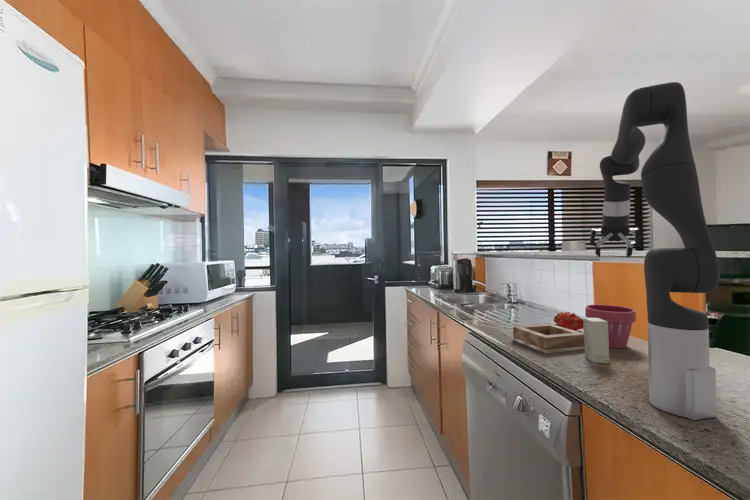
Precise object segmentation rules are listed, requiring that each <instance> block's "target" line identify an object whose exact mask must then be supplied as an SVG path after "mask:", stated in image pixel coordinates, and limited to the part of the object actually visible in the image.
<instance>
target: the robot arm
mask: <svg viewBox="0 0 750 500" xmlns="http://www.w3.org/2000/svg"><path fill="white" fill-rule="evenodd" d="M684 88H685V87H684V86H683V85H682V83H680V82H677V81H676V82H675V81H671V82H665V83H660V84H654V85H648V86H643V87H639V88H636V89H632V90H631V91H630V92H629V93H628V95H627V96H626V99H625V100H624V104H623V106H622V112H621V116H620V122H619V127H618V134H617V139H616V142H615V143H614V146H613V147H612V150H611V153H610V154H609V155H605V156H603V157H602V158H601V159H600V162H599V170H600V173H601V176H602V180H603V184H604V197H603V199H604V202H603V206H602V219H601V221H602V222H601V228H599V229H596V228H594V227H593V228H591V229H590V230H591V231H590V239H589V243H590V244H589V245H590V246H594V247H595V251H594V253H595V255H596V256H597V257H599V258H600V257H601V249H602V248H601V247H602V245H603V244H605V243H606V242H607V241H609V242H614V241H615V242H621V241H623V242H624V243H625V244H626V245H627V246H626V254H625V256H626V258H631V257H632V256H633V248H634V247H640V246H641V230H640V228H639V227H634V228H630V227H629V225H630V213H631V212H630V211H631V189H632V188H631V186H632V185H631V184H630V183H629V182H627V181H618V180H614V178H613V177H616V176H617V177H618V176H625V175H626V176H627V175H632V174H634V173H636V172H637V170H638V169H639V167H640V154H641V153H642V151H643V149H644V147H645V145H646V136H645V134H644V132H643V131H642V130H641V129H640V128H643V127H648V126H654V125H655V126H656V125H661V124H662V125H664V129H665V130H664V134H663V137H662V138H661V139H660V141H659V143H658V145H657V146H656V147H655V149H654V150H653V151H652V153H651V154H650V155H649V157H648V158H647V159H646V161H645V162H644V164H643V166H642V168H641V172H640V179H641V186H642V192H643V197H644V200H645V202H646V203H647V204H648V205H649V206H650V207H651V208H652V210H653V211H655V212H656V213H657V214H658V215H660V216H661V217H662V218H663V219H664V220H666V221H667V222H668V223H669V224H671V227H673V228H674V230H675V231H676V232H677V233H678V235H679V236H680V239H681V242H682V243H683V246H684V247H668V248H667V247H664V248H659V247H658V248H652V249H649V250H648V251H647V252H646V253H645V256H644V260H643V261H644V262H643V271H644V273H643V275H644V282H645V283H644V284H645V298H646V312H647V346H648V347H647V354H648V355H647V356H648V357H647V358H648V395H649V397H648V399H649V400H648V401H649V403H650V404H651V405H652V406H653V407H654V408H656V409H659V410H661V411H663V412H666V413H669V414H672V415H675V416H679V417H683V418H687V419H689V420H692V421H699V420H703V419H704V420H705V419H709V418H714V417H717V416H718V415H717V413H718V412H717V411H718V410H717V370H716V368H715V367H713V366H710V330H709V327H710V326H709V325H710V323H709V317H708V315H707V314H706V313H704V312H702V311H700V310H696V309H693V308H689V307H686V306H684V305H682V304H679V303H677V302H675V301H674V300H673V299H672V297H671V294H670V293H682V294H683V293H688V294H689V293H690V294H710V293H713V292H715V291H716V290H717V289H718V287H719V284H720V279H721V272H720V264H719V260H718V256H717V254H716V253H717V252H716V249H715V246H714V244H713V240H712V236H711V234H710V231H709V227H708V225H707V222H706V218H705V213H704V208H703V207H704V206H703V203H702V197H701V189H700V182H699V176H698V171H697V167H696V162H695V158H694V154H693V151H692V146H691V145H692V144H691V141H690V134H689V125H688V111H687V98H686V97H687V96H686V91H685V89H684ZM630 233H631V234H632V235H633V236H634V241H630V239H629V237H627V236H628V235H629V234H630ZM599 234H601V235H602V236H601V237H599V239H598V241H596V236H598V235H599Z"/></svg>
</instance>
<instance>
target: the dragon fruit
mask: <svg viewBox="0 0 750 500" xmlns="http://www.w3.org/2000/svg"><path fill="white" fill-rule="evenodd" d="M553 323H555V324H554V325H556V326H560V327H563V328H567V329H570V330H574V331H577V332H581V333H582V331H581V330H582V329H583V330H584V321H583V318H581V317H580V316H578V315H576V313H575V312H572V313H571V312H570V311H565V312H562V311H560V313H557V315H555V316H554V317H553Z"/></svg>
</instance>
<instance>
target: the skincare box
mask: <svg viewBox="0 0 750 500" xmlns="http://www.w3.org/2000/svg"><path fill="white" fill-rule="evenodd" d="M582 319H583V321H584V329H583V333H584V343H585V349H584V357H585V358H587V359H588V360H590V361H591V362H592V363H595V364H597V363H598V364H610V362H611V359H610V358H611V357H610V348H609V337H608V321H605V320H603V319H600V318H587V317H583V318H582Z"/></svg>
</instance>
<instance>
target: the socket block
mask: <svg viewBox="0 0 750 500" xmlns="http://www.w3.org/2000/svg"><path fill="white" fill-rule="evenodd" d="M556 325H557V324H556ZM556 325H555V324H551V323H541V324H528V325H519V326H517V325H515V326H512V331H513V333H512V337H513V341H514V342H517V343H519V344H522V345H525V346H527V347H529V348H531V347H532V349H534V350H536V351H538V352H541V353H543V352H544V353H543V354H552V353H553V354H554V353H562V352H573V351H580V350H584V351H585V343H584V332H582V331H581V332H577V331H578V330H577V331H574V330H570V329H567V328H563V327H560V326H556Z"/></svg>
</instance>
